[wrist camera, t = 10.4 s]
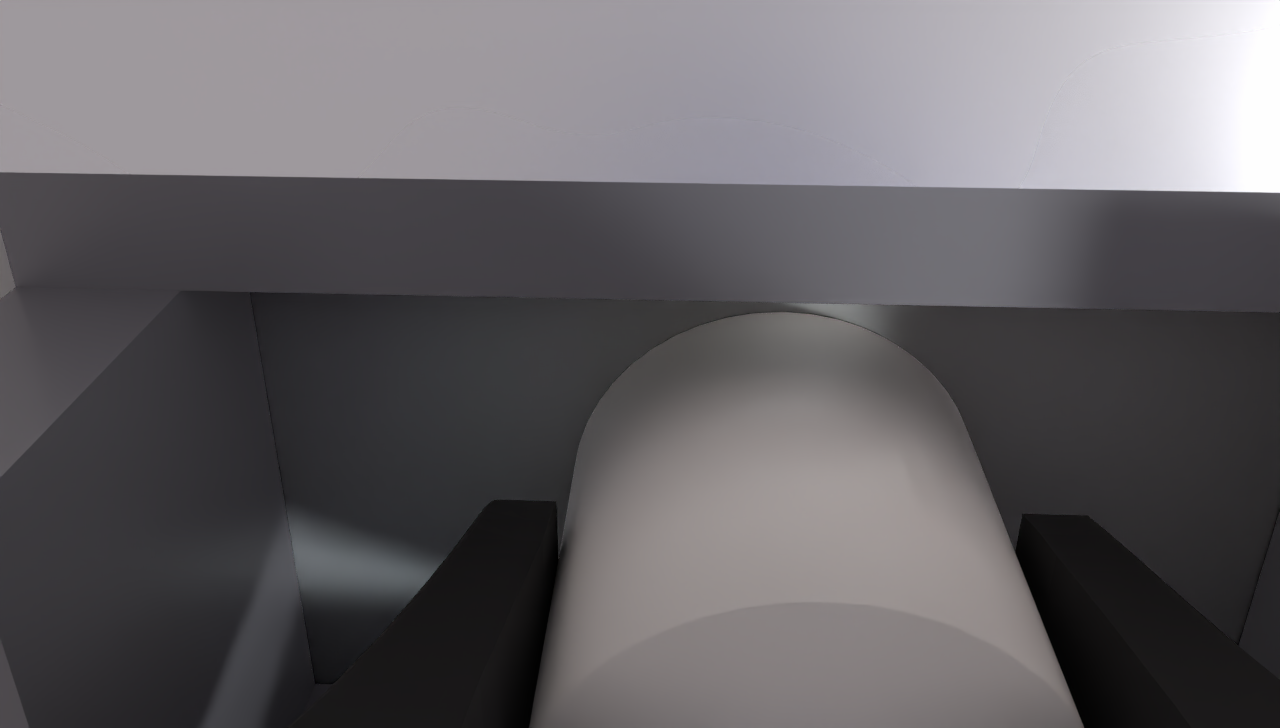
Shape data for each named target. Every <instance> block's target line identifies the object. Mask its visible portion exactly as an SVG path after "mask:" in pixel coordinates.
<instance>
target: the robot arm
mask: <svg viewBox="0 0 1280 728" xmlns="http://www.w3.org/2000/svg"><path fill="white" fill-rule="evenodd" d="M1015 553H1016V556H1017V558H1018V561H1019V563H1020V566H1021V568H1022V571H1023V573H1024V576H1025V579H1026V581H1027V584H1028V586H1029V589H1030V591H1031V594H1032V596H1033V599H1034V601H1035V604H1036V606H1037V609H1038V612H1039V614H1040V617H1041V619H1042V622H1043V624H1044V627H1045V629H1046V632H1047V634H1048V637H1049V639H1050V642H1051V645H1052V647H1053V650H1054V652H1055V655H1056V657H1057V660H1058V662H1059V665H1060V667H1061V670H1062V672H1063V675H1064V678H1065V680H1066V683H1067V685H1068V688H1069V690H1070V693H1071V695H1072V698H1073V700H1074V703H1075V706H1076V708H1077V711H1078V713H1079V716H1080V718H1081V721H1082V723H1083V726H1084V728H1280V679H1279V678H1277V677H1276V676H1275V675H1274V674H1272V673H1271V672H1270V671H1269V670H1267V669H1266V668H1265V667H1264V666H1262V665H1261V664H1260V663H1259V662H1257V661H1256V660H1255V659H1254V658H1253V657H1251V656H1250V655H1249V654H1248V653H1247V652H1245V651H1244V650H1243V649H1242V648H1241V647H1239V646H1238V645H1237V644H1236V643H1234V642H1233V641H1232V640H1231V639H1230V638H1229V637H1227V636H1226V635H1225V634H1224V633H1223V632H1221V631H1220V630H1219V629H1218V628H1217V627H1216V626H1214V625H1213V624H1212V623H1211V622H1210V621H1209V620H1207V619H1206V618H1205V617H1204V616H1203V615H1202V614H1200V613H1199V612H1198V611H1197V610H1196V609H1195V608H1194V607H1192V606H1191V605H1190V604H1189V603H1188V602H1187V601H1185V600H1184V599H1183V598H1182V597H1181V596H1180V595H1179V594H1177V593H1176V592H1175V591H1174V590H1173V589H1172V588H1171V587H1170V586H1168V585H1167V584H1166V583H1165V582H1164V581H1163V580H1162V579H1160V578H1159V577H1158V576H1157V575H1156V574H1155V573H1154V572H1153V571H1151V570H1150V569H1149V568H1148V567H1147V566H1146V565H1145V564H1144V563H1142V562H1141V561H1140V560H1139V559H1138V558H1137V557H1136V556H1135V555H1133V554H1132V553H1131V552H1130V551H1129V550H1128V549H1127V548H1125V547H1124V546H1123V545H1122V544H1121V543H1120V542H1119V541H1117V540H1116V539H1115V538H1114V537H1113V536H1112V535H1111V534H1109V533H1108V532H1107V531H1106V530H1105V529H1103V528H1102V527H1101V526H1100V525H1099V524H1097V523H1096V522H1095V521H1094V520H1092V519H1091V518H1090V517H1089V516H1084V515H1046V514H1022V519H1021V525H1020V530H1019V536H1018V541H1017V547H1016V552H1015ZM557 565H558V535H557V509H556V501H524V500H493V501H492V502H491V503H490V504H489V505H487V506H486V507H485V508H484V509H483V510H482V511H481V513H480V514H479V516H478V517H477V518H476V520H475V521H474V522H473V524H472V525H471V526H470V528H469V529H468V530H467V532H466V533H465V534H464V536H463V537H462V538H461V540H460V541H459V542H458V544H457V545H456V546H455V548H454V549H453V550H452V551H451V553H450V554H449V555H448V556H447V558H446V559H445V560H444V561H443V563H442V564H441V565H440V566H439V568H438V569H437V570H436V571H435V573H434V574H433V575H432V576H431V578H430V579H429V580H428V581H427V582H426V584H425V585H424V586H423V587H422V588H421V589H420V591H419V592H418V593H417V594H416V595H415V596H414V598H413V599H412V600H411V601H410V602H409V603H408V604H407V606H406V607H405V608H404V609H403V610H402V611H401V613H400V614H399V615H398V616H397V617H396V618H395V619H394V621H393V622H392V623H391V624H390V625H389V626H388V627H387V629H386V630H385V631H384V632H383V633H382V634H381V635H380V636H379V637H378V638H377V640H376V641H375V642H374V643H373V644H372V645H371V646H370V647H369V648H368V649H367V650H366V651H365V652H364V653H363V654H362V655H361V656H360V657H359V658H358V659H357V660H356V661H355V662H354V663H353V664H352V665H351V666H350V667H349V668H348V669H347V670H346V671H345V672H344V673H343V674H342V675H341V676H340V678H339V679H338V680H337V681H336V682H335V683H334V684H333V685H332V686H331V687H330V688H329V689H328V690H327V691H326V692H325V693H324V694H323V695H322V696H321V697H320V698H319V699H318V700H317V701H315V702H314V703H313V704H312V705H311V706H310V707H309V708H308V709H307V710H306V711H305V712H304V713H303V714H302V715H300V716H299V717H298V718H297V719H296V720H295V721H294V722H293V723H292V724H291V725H290V726H288V727H287V728H529V724H530V719H531V713H532V707H533V702H534V696H535V690H536V685H537V679H538V673H539V667H540V662H541V656H542V650H543V645H544V639H545V633H546V628H547V622H548V617H549V611H550V605H551V600H552V594H553V588H554V582H555V577H556V571H557Z"/></svg>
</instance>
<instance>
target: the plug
mask: <svg viewBox="0 0 1280 728" xmlns="http://www.w3.org/2000/svg"><path fill="white" fill-rule="evenodd" d="M529 728H1084V726H1083V723H1082V721H1081V718H1080V716H1079V713H1078V711H1077V708H1076V706H1075V703H1074V700H1073V698H1072V695H1071V693H1070V690H1069V688H1068V685H1067V683H1066V680H1065V678H1064V675H1063V672H1062V670H1061V667H1060V665H1059V662H1058V660H1057V657H1056V655H1055V652H1054V650H1053V647H1052V645H1051V642H1050V639H1049V637H1048V634H1047V632H1046V629H1045V627H1044V624H1043V622H1042V619H1041V617H1040V614H1039V612H1038V609H1037V606H1036V604H1035V601H1034V599H1033V596H1032V594H1031V591H1030V589H1029V586H1028V584H1027V581H1026V579H1025V576H1024V573H1023V571H1022V568H1021V566H1020V563H1019V561H1018V558H1017V556H1016V553H1015V551H1014V548H1013V545H1012V543H1011V540H1010V538H1009V535H1008V533H1007V530H1006V528H1005V525H1004V523H1003V520H1002V518H1001V515H1000V512H999V510H998V507H997V505H996V502H995V500H994V497H993V495H992V492H991V490H990V487H989V485H988V482H987V479H986V477H985V474H984V472H983V469H982V467H981V464H980V462H979V459H978V457H977V454H976V451H975V449H974V446H973V444H972V441H971V439H970V436H969V434H968V431H967V429H966V426H965V424H964V422H963V419H962V417H961V415H960V412H959V410H958V408H957V407H956V405H955V403H954V402H953V400H952V399H951V397H950V395H949V394H948V392H947V391H946V389H945V388H944V387H943V386H942V384H941V383H940V382H939V381H938V380H937V379H936V377H935V376H934V375H933V374H932V373H931V372H930V371H929V370H928V369H927V368H926V367H925V366H924V365H923V364H921V363H920V362H919V361H918V360H917V359H916V358H915V357H913V356H912V355H911V354H910V353H908V352H907V351H905V350H904V349H902V348H901V347H899V346H898V345H896V344H894V343H893V342H891V341H890V340H888V339H886V338H884V337H882V336H880V335H878V334H876V333H874V332H871V331H869V330H867V329H865V328H862V327H859V326H856V325H853V324H850V323H847V322H844V321H841V320H838V319H833V318H828V317H823V316H818V315H813V314H803V313H790V312H769V313H752V314H746V315H740V316H733V317H727V318H724V319H720V320H717V321H713V322H710V323H706V324H702V325H699V326H697V327H695V328H692V329H690V330H687V331H685V332H683V333H680V334H678V335H676V336H674V337H672V338H670V339H668V340H667V341H665V342H663V343H661V344H660V345H658V346H656V347H655V348H653V349H651V350H650V351H649V352H647V353H646V354H645V355H643V356H642V357H641V358H639V359H638V360H637V361H635V362H634V363H633V364H631V365H630V366H629V367H628V368H627V369H626V370H625V371H624V372H623V373H622V374H621V375H620V376H619V377H618V378H617V379H616V380H615V381H614V382H613V384H612V385H611V386H610V388H609V389H608V390H607V391H606V393H605V394H604V395H603V397H602V398H601V399H600V401H599V402H598V404H597V406H596V408H595V409H594V411H593V413H592V415H591V417H590V418H589V420H588V422H587V424H586V427H585V430H584V433H583V435H582V438H581V441H580V443H579V448H578V453H577V458H576V463H575V468H574V473H573V479H572V485H571V491H570V496H569V502H568V508H567V513H566V519H565V525H564V530H563V536H562V542H561V548H560V553H559V559H558V565H557V571H556V577H555V582H554V588H553V594H552V600H551V605H550V611H549V617H548V622H547V628H546V633H545V639H544V645H543V650H542V656H541V662H540V667H539V673H538V679H537V685H536V690H535V696H534V702H533V707H532V713H531V719H530V724H529Z"/></svg>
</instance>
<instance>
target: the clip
mask: <svg viewBox="0 0 1280 728" xmlns="http://www.w3.org/2000/svg"><path fill="white" fill-rule="evenodd" d="M0 172H18V173H81V174H144V175H206V176H269V177H331V178H394V179H456V180H519V181H582V182H644V183H707V184H769V185H832V186H894V187H957V188H1019V189H1082V190H1145V191H1207V192H1270V193H1280V0H0Z"/></svg>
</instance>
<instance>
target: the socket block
mask: <svg viewBox="0 0 1280 728" xmlns="http://www.w3.org/2000/svg"><path fill="white" fill-rule="evenodd" d="M0 230H1V233H2V237H3V241H4V244H5V248H6V252H7V256H8V259H9V263H10V267H11V271H12V274H13V278H14V282H15V286H16V288H14V289H13V290H12V291H11V292H9V293H8V294H7V295H6V296H4V297H3V298H2V299H0V728H287V727H288V726H290V725H291V724H292V723H293V722H294V721H295V720H296V719H297V718H298V717H299V716H300V715H302V714H303V713H304V712H305V711H306V710H307V709H308V708H309V707H310V706H311V705H312V704H313V703H314V702H315V701H317V700H318V699H319V698H320V697H321V696H322V695H323V694H324V693H325V692H326V691H327V690H328V689H329V688H330V687H331V686H332V685H333V684H315V680H314V674H313V668H312V662H311V656H310V650H309V644H308V638H307V632H306V626H305V620H304V615H303V609H302V603H301V597H300V591H299V585H298V579H297V573H296V567H295V561H294V555H293V549H292V543H291V537H290V531H289V525H288V519H287V513H286V507H285V501H284V495H283V489H282V483H281V477H280V471H279V465H278V459H277V453H276V447H275V441H274V435H273V429H272V423H271V417H270V411H269V405H268V399H267V393H266V387H265V381H264V375H263V369H262V363H261V357H260V351H259V345H258V339H257V333H256V328H255V322H254V316H253V310H252V304H251V298H250V292H275V293H325V294H375V295H425V296H475V297H525V298H575V299H625V300H676V301H726V302H776V303H826V304H876V305H926V306H976V307H1026V308H1076V309H1127V310H1177V311H1227V312H1277V313H1280V193H1270V192H1207V191H1145V190H1082V189H1019V188H957V187H894V186H832V185H769V184H707V183H644V182H582V181H519V180H456V179H394V178H331V177H269V176H206V175H144V174H81V173H18V172H0ZM1238 646H1239V647H1241V648H1242V649H1243V650H1244V651H1245V652H1247V653H1248V654H1249V655H1250V656H1251V657H1253V658H1254V659H1255V660H1256V661H1257V662H1259V663H1260V664H1261V665H1262V666H1264V667H1265V668H1266V669H1267V670H1269V671H1270V672H1271V673H1272V674H1274V675H1275V676H1276V677H1277V678H1279V679H1280V512H1279V515H1278V518H1277V521H1276V525H1275V528H1274V531H1273V534H1272V538H1271V541H1270V544H1269V548H1268V551H1267V554H1266V557H1265V561H1264V564H1263V567H1262V570H1261V574H1260V577H1259V580H1258V583H1257V587H1256V590H1255V593H1254V596H1253V600H1252V603H1251V606H1250V610H1249V613H1248V616H1247V619H1246V623H1245V626H1244V629H1243V632H1242V636H1241V639H1240V642H1239V645H1238Z"/></svg>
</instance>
